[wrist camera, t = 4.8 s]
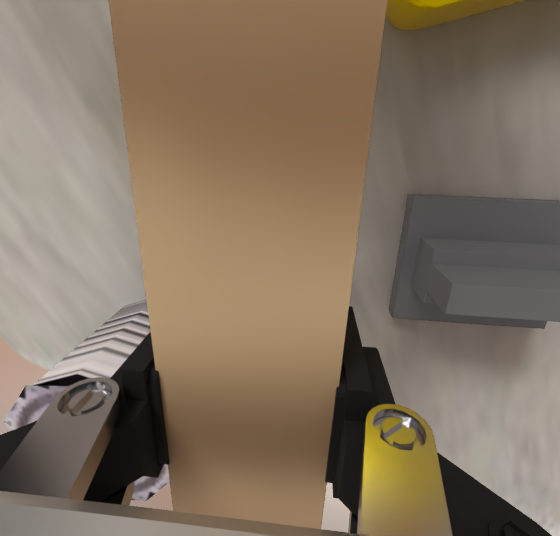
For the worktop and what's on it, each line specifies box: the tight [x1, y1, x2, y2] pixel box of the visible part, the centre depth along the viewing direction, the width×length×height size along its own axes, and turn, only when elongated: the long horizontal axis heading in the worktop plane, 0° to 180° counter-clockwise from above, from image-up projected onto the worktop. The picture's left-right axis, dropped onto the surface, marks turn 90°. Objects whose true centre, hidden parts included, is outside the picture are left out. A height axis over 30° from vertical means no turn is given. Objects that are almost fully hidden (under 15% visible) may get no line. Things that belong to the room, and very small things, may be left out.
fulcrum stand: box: [389, 194, 560, 329], centre depth 23 cm, size 10×12×8 cm
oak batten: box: [109, 0, 387, 529], centre depth 10 cm, size 24×4×5 cm, turn 177°
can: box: [4, 300, 170, 501], centre depth 27 cm, size 11×11×12 cm
